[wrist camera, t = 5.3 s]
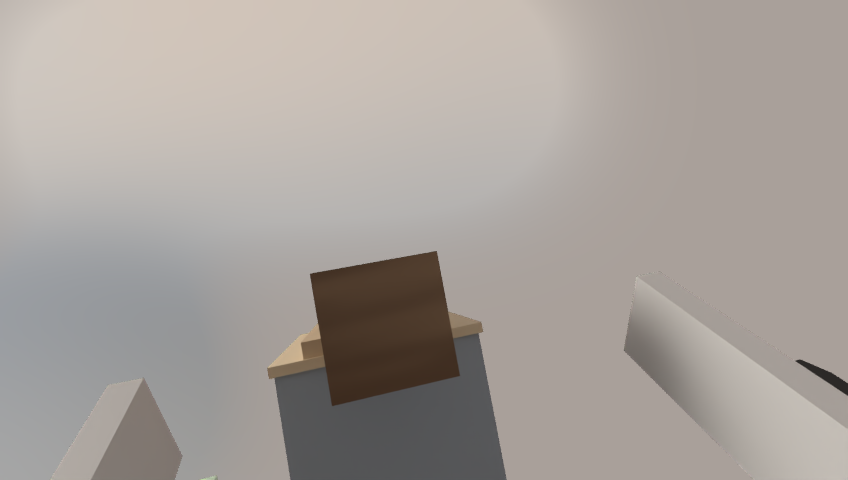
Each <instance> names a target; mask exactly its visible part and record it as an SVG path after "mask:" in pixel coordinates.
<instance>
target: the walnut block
mask: <svg viewBox="0 0 848 480" xmlns="http://www.w3.org/2000/svg"><path fill="white" fill-rule="evenodd" d="M310 277H311V283H312V289H313V295H314V301H315V307H316V313H317V319H318V325H319V331H320V337H321V343H322V349H323V355H324V361H325V367H326V373H327V379H328V385H329V391H330V397H331V403H332V406H335V405H340V404H344V403H348V402H352V401H357V400H361V399H365V398H369V397H373V396H378V395H382V394H386V393H390V392H394V391H399V390H403V389H407V388H411V387H416V386H420V385H424V384H428V383H432V382H437V381H441V380H445V379H449V378H454V377H458V376H460V372H459V367H458V362H457V356H456V351H455V346H454V340H453V335H452V330H451V324H450V319H449V314H448V308H447V303H446V298H445V293H444V287H443V282H442V277H441V271H440V266H439V261H438V256H437V251H434V252H429V253H423V254H418V255H412V256H407V257H401V258H395V259H390V260H384V261H379V262H373V263H367V264H362V265H356V266H351V267H346V268H340V269H335V270H328V271H323V272H317V273H312V274H310Z"/></svg>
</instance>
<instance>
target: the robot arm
mask: <svg viewBox="0 0 848 480" xmlns="http://www.w3.org/2000/svg"><path fill="white" fill-rule="evenodd" d="M624 351H625V352H626V353H627V354H628V355H629V356H630V357H631V358H632V359H633V360H634V361H635V362H636V363H637V364H638V365H639V366H640V367H641V368H642V369H643V370H644V371H645V372H646V373H647V374H648V375H649V376H650V377H651V378H652V379H653V380H654V381H655V382H656V383H657V384H658V385H659V386H660V387H661V388H662V389H663V390H664V391H665V392H666V393H667V394H668V395H669V396H670V397H671V398H672V399H673V400H674V401H675V402H676V403H677V404H678V405H679V406H680V407H681V408H682V409H683V410H684V411H685V412H686V413H687V414H688V415H689V416H690V417H691V418H692V419H693V420H694V421H695V422H696V423H697V424H698V425H699V426H700V427H701V428H702V429H703V430H704V431H705V432H706V433H708V435H709V436H710V437H711V438H712V439H713V440H714V441H715V442H716V443H717V444H718V445H719V446H720V447H721V448H722V449H723V450H724V451H725V452H726V453H727V454H728V455H729V456H730V457H731V458H732V459H733V460H734V461H735V462H736V463H737V464H738V465H739V466H740V467H741V468H742V469H743V470H744V471H745V472H746V473H747V474H748V475H749V476H750V477H751V478H752V479H753V480H848V383H846V382H845V381H843V380H842V379H840V378H839V377H837V376H836V375H834V374H832V373H831V372H828V371H826V370H824V369H821V368H819V367H816V366H814V365H812V364H810V363H807V362H805V361H803V360H797V361H794V360H793V359H791V358H790V357H788V356H787V355H785V354H783V353H782V352H781V351H779V350H777V349H776V348H775V347H773V346H772V345H770V344H769V343H767V342H766V341H764V340H762V339H761V338H760V337H758V336H756V335H755V334H753V333H752V332H750V331H749V330H747V329H746V328H744V327H743V326H741V325H740V324H738V323H737V322H735V321H734V320H732V319H731V318H729V317H728V316H726V315H725V314H723V313H722V312H720V311H718V310H717V309H716V308H714V307H713V306H711V305H710V304H708V303H706V302H705V301H704V300H702V299H701V298H699V297H698V296H696V295H695V294H693V293H691V292H690V291H688V290H687V289H686V288H684V287H682V286H681V285H680V284H678V283H676V282H675V281H673V280H672V279H670V278H669V277H667V276H666V275H664V274H663V273H661V272H655V273H649V274H645V275H640V276H637V277H636V282H635V288H634V294H633V301H632V306H631V312H630V318H629V323H628V330H627V336H626V341H625V348H624ZM181 459H182V454H181V452H180V451H179V448H178V446H177V444H176V442H175V440H174V438H173V436H172V434H171V432H170V430H169V428H168V426H167V424H166V422H165V420H164V418H163V416H162V414H161V412H160V410H159V408H158V406H157V404H156V402H155V400H154V398H153V396H152V394H151V392H150V389H149V387H148V385H147V384H146V381H145V379H144V378H140V379H135V380H130V381H126V382H120V383H116V384H111V385H108V386H107V387H106V389H105V391H104V393H103V394H102V396H101V397H100V399H99V400H98V402H97V404H96V405H95V407H94V409H93V410H92V412H91V414H90V415H89V417H88V418H87V420H86V422H85V423H84V425H83V427H82V428H81V430H80V432H79V433H78V435H77V436H76V438H75V440H74V441H73V443H72V445H71V446H70V448H69V450H68V451H67V453H66V454H65V456H64V458H63V459H62V461H61V463H60V464H59V466H58V467H57V469H56V471H55V472H54V474H53V476H52V477H51V479H50V480H175V477H176V474H177V471H178V468H179V465H180V461H181Z"/></svg>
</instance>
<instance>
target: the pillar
mask: <svg viewBox="0 0 848 480" xmlns="http://www.w3.org/2000/svg"><path fill="white" fill-rule="evenodd" d="M448 314H449V319H450V324H451V330H452V335H453V340H454V346H455V351H456V356H457V362H458V367H459V372H460V376H458V377H454V378H449V379H445V380H441V381H437V382H432V383H428V384H424V385H420V386H416V387H411V388H407V389H403V390H399V391H394V392H390V393H386V394H382V395H378V396H373V397H369V398H365V399H361V400H357V401H352V402H348V403H344V404H340V405H335V406H332V403H331V397H330V391H329V385H328V379H327V373H326V367H325V361H324V355H323V349H322V343H321V337H320V331H319V325H318V324H317V325H316V326H315V327H314V328H313V329H312V330H311V331H310V333H306V334H302V335H300V336H299V337H298V338H297V339H296V340H295V341H294V342H293V343H292V344H291V345H290V346H289V347H288V348H287V349H286V350H285V351H284V352H283V353H282V354H281V355H280V356H279V357H278V358H277V359H276V360H275V361H274V362H273V363H272V364H271V365H270V366H269V367H268V368H267V369H268V376H269V379H272V378H275V384H276V390H277V397H278V403H279V409H280V416H281V422H282V429H283V435H284V441H285V447H286V454H287V460H288V466H289V472H290V479H291V480H506V474H505V469H504V464H503V459H502V453H501V448H500V444H499V438H498V433H497V427H496V422H495V417H494V412H493V407H492V402H491V396H490V391H489V386H488V381H487V376H486V370H485V365H484V360H483V355H482V349H481V345H480V339H479V334H478V333H481V332H483V329H482V324H481V322H479V321H476V320H473V319H470V318H467V317H464V316H460V315H457V314H454V313H451V312H448Z"/></svg>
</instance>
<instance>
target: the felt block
mask: <svg viewBox="0 0 848 480" xmlns="http://www.w3.org/2000/svg"><path fill="white" fill-rule="evenodd" d="M201 480H218V479H217V476H213V477H209V478H205V479H201Z"/></svg>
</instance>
